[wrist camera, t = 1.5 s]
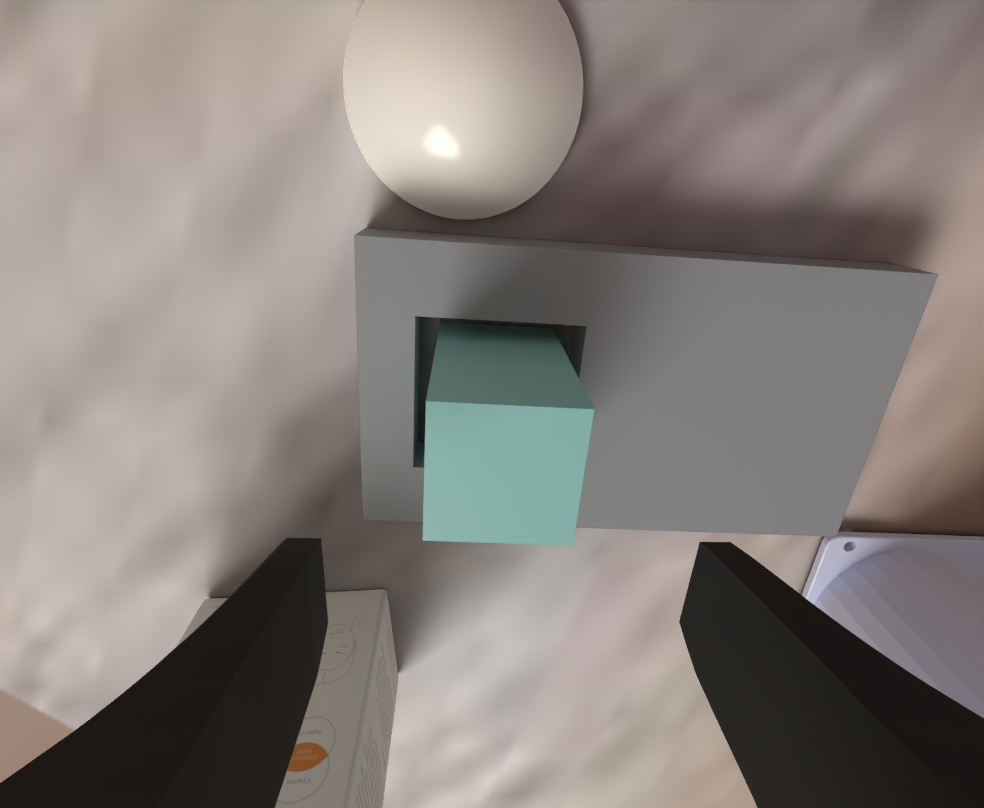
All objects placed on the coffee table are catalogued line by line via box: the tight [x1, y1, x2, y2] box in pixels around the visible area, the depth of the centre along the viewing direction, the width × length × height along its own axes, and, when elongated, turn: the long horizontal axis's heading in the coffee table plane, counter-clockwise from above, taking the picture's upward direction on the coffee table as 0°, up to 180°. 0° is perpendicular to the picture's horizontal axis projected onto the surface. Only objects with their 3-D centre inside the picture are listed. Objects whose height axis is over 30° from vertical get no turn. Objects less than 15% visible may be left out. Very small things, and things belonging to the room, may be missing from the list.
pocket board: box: [354, 228, 938, 537], centre depth 20 cm, size 18×10×2 cm, turn 86°
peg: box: [423, 322, 594, 546], centre depth 17 cm, size 4×4×7 cm
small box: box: [177, 589, 398, 808], centre depth 20 cm, size 8×6×10 cm
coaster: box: [343, 0, 583, 219], centre depth 16 cm, size 7×7×1 cm
